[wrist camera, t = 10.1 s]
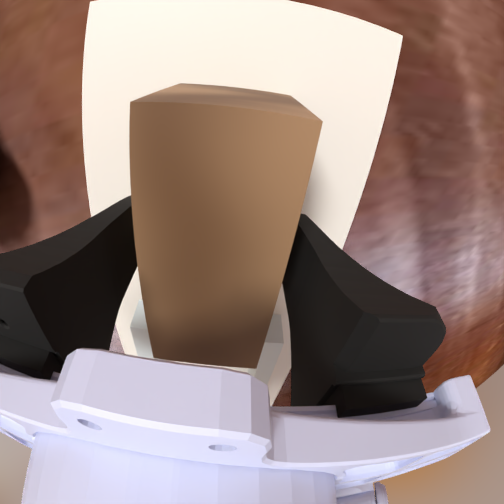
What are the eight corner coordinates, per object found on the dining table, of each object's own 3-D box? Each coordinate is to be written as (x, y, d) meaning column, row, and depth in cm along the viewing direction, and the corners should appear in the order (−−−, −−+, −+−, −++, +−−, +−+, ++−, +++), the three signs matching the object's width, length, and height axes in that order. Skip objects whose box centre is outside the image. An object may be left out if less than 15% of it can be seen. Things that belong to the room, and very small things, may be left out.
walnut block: (290, 95, 10) (322, 121, 6) (254, 282, 15) (256, 368, 11) (180, 83, 9) (129, 101, 5) (174, 273, 14) (153, 357, 10)
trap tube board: (393, 36, 8) (430, 35, 6) (261, 417, 28) (262, 441, 26) (99, 4, 7) (63, -4, 5) (149, 406, 27) (145, 429, 24)
